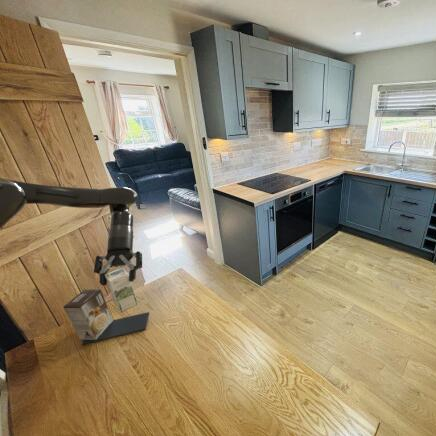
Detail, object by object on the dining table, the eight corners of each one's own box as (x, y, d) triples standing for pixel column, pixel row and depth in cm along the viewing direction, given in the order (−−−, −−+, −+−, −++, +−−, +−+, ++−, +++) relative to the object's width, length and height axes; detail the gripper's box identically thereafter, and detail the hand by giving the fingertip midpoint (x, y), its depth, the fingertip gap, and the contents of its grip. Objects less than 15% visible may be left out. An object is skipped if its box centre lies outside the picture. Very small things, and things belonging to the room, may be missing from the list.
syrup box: (132, 297, 92) (122, 266, 86) (138, 304, 89) (128, 273, 83) (115, 305, 88) (103, 273, 82) (121, 313, 84) (109, 281, 79)
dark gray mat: (82, 345, 85) (81, 344, 85) (91, 326, 93) (91, 325, 93) (145, 329, 92) (145, 328, 92) (149, 313, 100) (148, 312, 99)
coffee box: (98, 320, 95) (84, 288, 89) (113, 320, 95) (101, 288, 88) (78, 340, 87) (62, 306, 80) (96, 340, 87) (81, 307, 80)
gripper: (92, 238, 83) (87, 285, 77) (138, 233, 86) (136, 278, 81) (103, 243, 90) (99, 287, 84) (145, 239, 93) (144, 281, 88)
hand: (117, 283), depth 83 cm, fingers closed on syrup box, 8 cm apart
